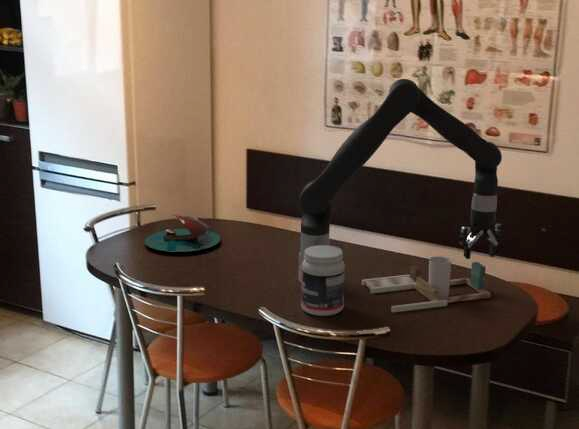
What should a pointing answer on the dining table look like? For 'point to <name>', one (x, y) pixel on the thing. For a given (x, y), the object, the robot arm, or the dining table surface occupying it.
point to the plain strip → (396, 279)
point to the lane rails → (404, 287)
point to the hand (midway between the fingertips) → (479, 257)
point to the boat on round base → (184, 237)
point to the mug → (440, 275)
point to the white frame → (475, 283)
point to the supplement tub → (322, 280)
